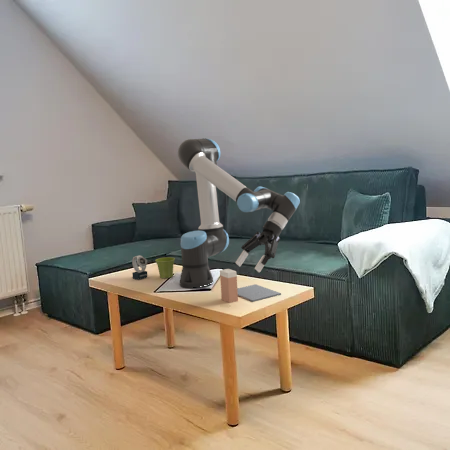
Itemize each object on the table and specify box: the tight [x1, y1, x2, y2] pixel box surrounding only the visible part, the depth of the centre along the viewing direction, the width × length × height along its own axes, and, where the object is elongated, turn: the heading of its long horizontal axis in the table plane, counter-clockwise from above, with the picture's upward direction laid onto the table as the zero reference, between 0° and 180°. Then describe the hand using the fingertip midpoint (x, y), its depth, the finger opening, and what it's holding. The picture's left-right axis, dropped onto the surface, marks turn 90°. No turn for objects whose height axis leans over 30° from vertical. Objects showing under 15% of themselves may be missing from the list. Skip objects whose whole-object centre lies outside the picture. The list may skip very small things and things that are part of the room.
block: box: [219, 268, 239, 304], centre depth 199 cm, size 6×4×12 cm, turn 32°
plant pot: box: [154, 256, 176, 279], centre depth 242 cm, size 9×9×9 cm
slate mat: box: [237, 283, 282, 303], centre depth 207 cm, size 18×14×1 cm
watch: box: [131, 254, 148, 281], centre depth 242 cm, size 6×8×11 cm
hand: (246, 267), depth 201 cm, fingers open, 13 cm apart
